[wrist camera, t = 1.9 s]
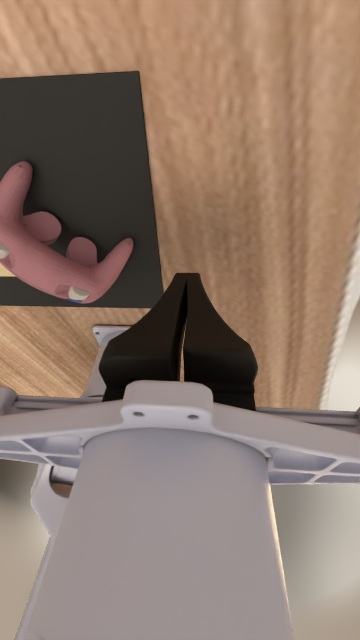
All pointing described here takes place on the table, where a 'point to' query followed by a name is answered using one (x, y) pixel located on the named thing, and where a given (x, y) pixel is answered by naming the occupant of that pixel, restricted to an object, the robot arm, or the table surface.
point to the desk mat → (84, 176)
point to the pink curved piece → (43, 262)
